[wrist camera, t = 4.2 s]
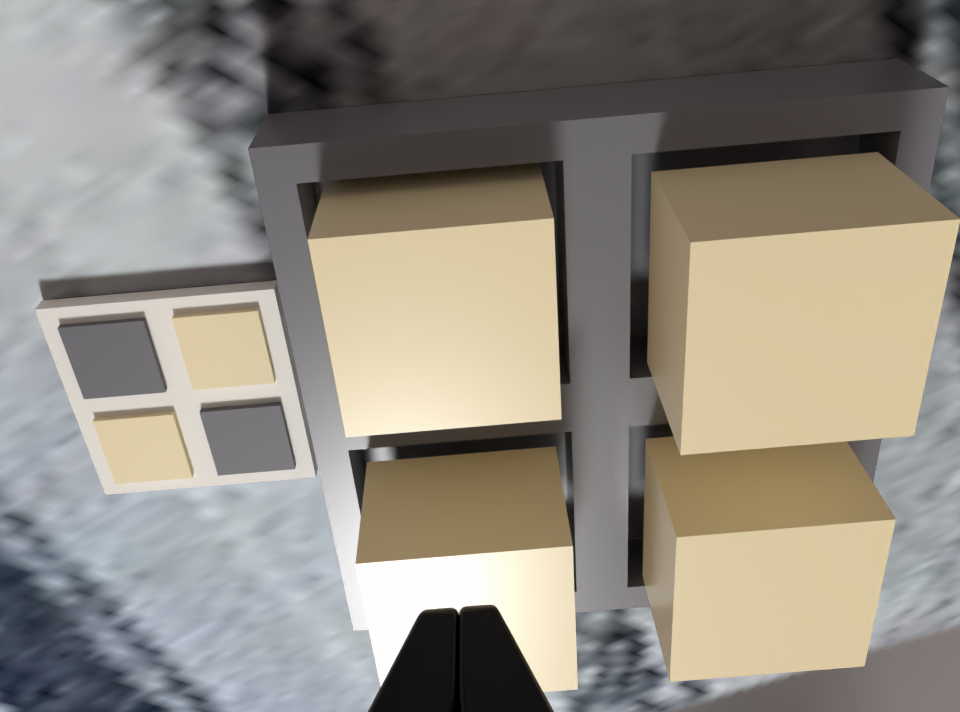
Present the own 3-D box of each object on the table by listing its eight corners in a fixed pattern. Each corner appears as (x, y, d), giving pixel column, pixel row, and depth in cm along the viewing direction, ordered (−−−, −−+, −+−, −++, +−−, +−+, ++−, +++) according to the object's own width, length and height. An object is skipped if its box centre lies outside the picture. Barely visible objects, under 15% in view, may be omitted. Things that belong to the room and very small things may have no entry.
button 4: (358, 353, 19) (345, 437, 17) (327, 174, 17) (307, 239, 15) (545, 337, 19) (561, 418, 17) (537, 155, 17) (554, 218, 15)
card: (111, 483, 22) (103, 498, 21) (42, 300, 19) (32, 313, 19) (317, 466, 22) (315, 481, 21) (277, 280, 19) (272, 292, 19)
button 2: (391, 595, 21) (384, 705, 19) (367, 461, 19) (355, 564, 17) (561, 582, 21) (577, 689, 19) (555, 446, 19) (572, 546, 17)
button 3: (647, 363, 18) (680, 455, 16) (651, 172, 16) (690, 242, 13) (847, 345, 18) (914, 436, 16) (878, 151, 16) (959, 219, 13)
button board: (360, 570, 24) (353, 630, 22) (267, 114, 17) (248, 148, 16) (822, 532, 23) (852, 589, 22) (898, 58, 17) (948, 87, 15)
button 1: (642, 575, 21) (670, 682, 19) (645, 439, 19) (676, 537, 17) (813, 561, 21) (864, 666, 19) (835, 423, 19) (895, 518, 17)
